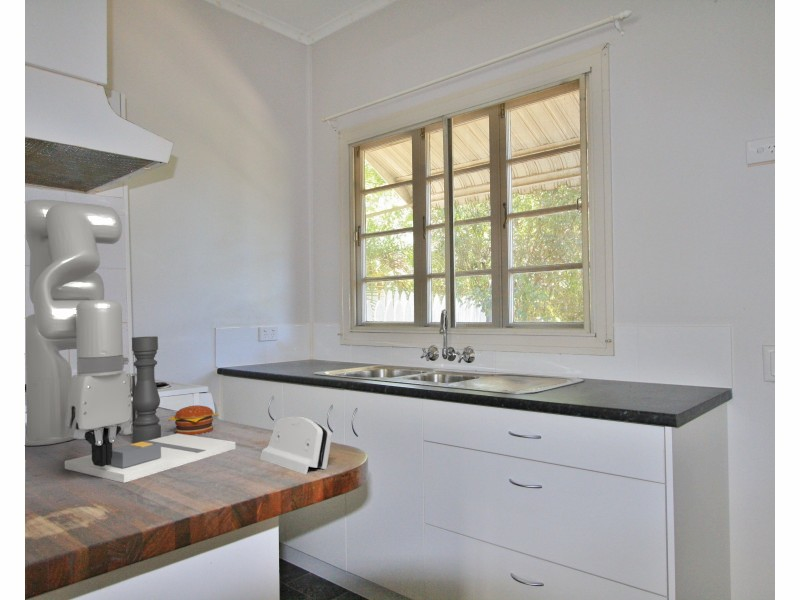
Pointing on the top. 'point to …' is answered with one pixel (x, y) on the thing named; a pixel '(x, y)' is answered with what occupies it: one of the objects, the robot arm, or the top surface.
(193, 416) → the hamburger
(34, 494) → the top surface
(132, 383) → the beer glass
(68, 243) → the robot arm
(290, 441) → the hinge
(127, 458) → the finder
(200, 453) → the white rectangular board
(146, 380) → the candle holder
